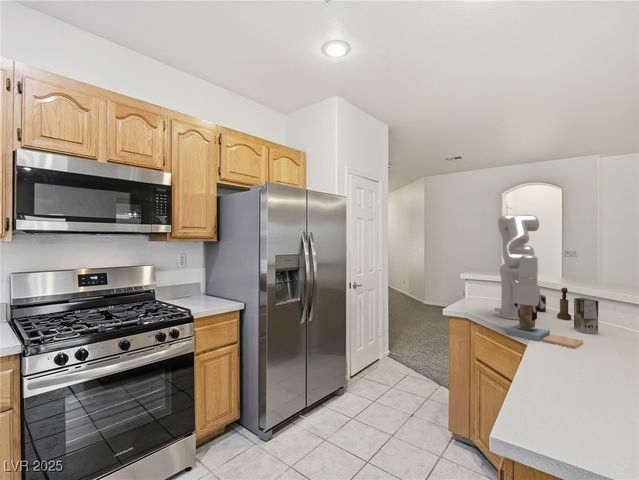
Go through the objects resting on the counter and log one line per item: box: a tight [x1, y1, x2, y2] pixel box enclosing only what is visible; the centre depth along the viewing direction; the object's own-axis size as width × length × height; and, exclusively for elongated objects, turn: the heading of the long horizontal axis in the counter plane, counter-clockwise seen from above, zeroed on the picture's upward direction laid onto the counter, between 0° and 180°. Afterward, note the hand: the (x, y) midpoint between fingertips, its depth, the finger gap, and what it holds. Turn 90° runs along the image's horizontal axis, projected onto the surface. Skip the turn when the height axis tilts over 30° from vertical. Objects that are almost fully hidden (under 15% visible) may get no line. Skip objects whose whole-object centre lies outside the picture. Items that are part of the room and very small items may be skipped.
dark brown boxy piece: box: [537, 294, 547, 313], centre depth 208 cm, size 16×11×18 cm
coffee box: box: [573, 297, 600, 335], centre depth 162 cm, size 9×6×16 cm
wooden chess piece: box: [556, 287, 572, 321], centre depth 188 cm, size 7×6×18 cm
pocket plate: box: [505, 323, 551, 342], centre depth 155 cm, size 14×14×2 cm
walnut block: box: [519, 304, 536, 329], centre depth 156 cm, size 5×5×11 cm
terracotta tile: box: [541, 333, 584, 349], centre depth 144 cm, size 12×12×1 cm
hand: (527, 318), depth 156 cm, fingers closed on walnut block, 5 cm apart
